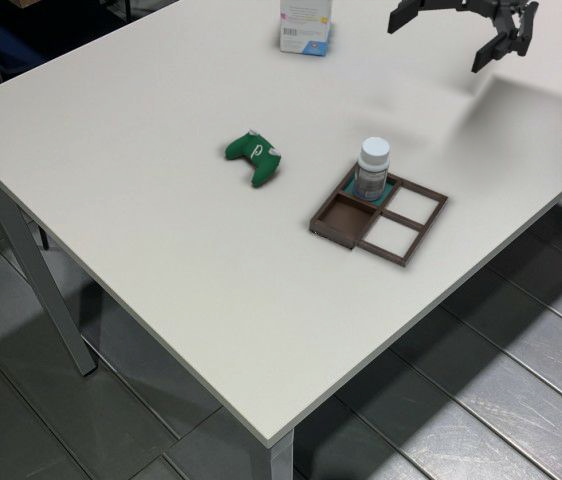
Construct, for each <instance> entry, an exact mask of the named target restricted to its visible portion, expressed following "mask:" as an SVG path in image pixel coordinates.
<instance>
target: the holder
mask: <svg viewBox="0 0 562 480" xmlns="http://www.w3.org/2000/svg"><path fill="white" fill-rule="evenodd" d="M356 165H357V161H355V163H354V164H353V166H351V168H350V169H349V171H348V172H347V173H346V175H344V177H343V178H342V180H341V181H340V182H339V183H338V184H337V186H336V187H335V188H334V190H332V191H331V194H330V195H328V197H327V198H326V200H324V202H323V203H322V204H321V206H320V207H319V208H318V209H317V211H316V212H315V214H313V216H312V217H311V218H310V220H309V224H308V225H309V227H308V231H309V230H311V231H310V232H312V231H313V232H312V233H314V232H316V233H318V234H320V235H319V236H321V235H322V236H321V237H323V236H324V237H323V238H325V237H327V238H329V239H328V240H330V239H331V240H330V241H332V240H333V241H332V242H334V241H336V242H338V243H340V244H339V245H341V244H342V245H341V246H343V245H345V246H347V247H349V248H348V249H350V248H352V249H353V250H354V249H355V248H356V247H358V248H360V249H363V250H365V251H367V252H369V253H371V254H374V255H375V256H378V257H381V258H383V259H385V260H388V261H390V262H392V263H394V264H397V265H398V266H401V267H403V268H405V267H406V266H407V265H408V263H409V261H410V260H411V258H412V257H413V255H414V254H415V252H416V250H417V249H418V247H419V246H420V244H421V243H422V242H423V240H424V239H425V237H426V235H427V233H428V232H429V230H430V229H431V227H432V226H433V224H434V223H435V221H436V220H437V219H438V216H439V215H440V214H441V212H442V210H443V209H444V207H445V206H446V204H447V203H448V201H449V199H450V198H449V196H448V195H444V194H442V193H441V192H438V191H435V190H433V189H430V188H428V187H425V186H423V185H420V184H419V183H415V182H413V181H411V180H409V179H405V178H403V177H400V176H398V175H396V174H393V173H391V172H389V171H388V173H387V178H386V183H385V187H384V192H383V194H382V196H381V197H380V198H378V199H377V200H374V201H366V200H364V199H361V198H359V197H357V196H356V195H355V194H354V191H353V185H354V179H355V172H356ZM401 188H405V189H407V190H410V191H412V192H415V193H416V194H420V195H422V196H424V197H426V198H429V199H431V200H434V201H437V202H438V203H437V205H436V206H435V208H434V209H433V211H432V212H431V214H430V216H429V217H428V219H427V220H426V221H425V223H424V224H422V223H420V222H418V221H416V220H413V219H411V218H408V217H406V216H404V215H403V214H399V213H396V212H395V211H392V210H390V209H387V208H388V206H389V205H390V203H391V202H392V200H393V199H394V197H395V196H396V195H397V194H398V192H399V190H400V189H401ZM380 217H384V218H385V219H389V220H390V221H392V222H394V223H397V224H399V225H403V226H404V227H406V228H409V229H412V230H414V231H416V232H418V234H417V235H416V237H415V238H414V239H413V241H412V243H411V245H410V246H409V248H408V249H407V251H406V252H405V254H404V255H403V256H401V255H399V254H396V253H393V252H392V251H389V250H387V249H384V248H382V247H380V246H377V244H373V243H372V242H369V241H367V240H365V238H366V237H367V235H368V234H369V233H370V231H371V230H372V228H373V227H374V226H375V224H376V223H377V221H378V220H379V219H380ZM316 233H315V234H316ZM318 234H317V235H318ZM327 238H326V239H327ZM336 242H335V243H336ZM338 243H337V244H338ZM345 246H344V247H345ZM347 247H346V248H347ZM352 249H351V250H352Z"/></svg>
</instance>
